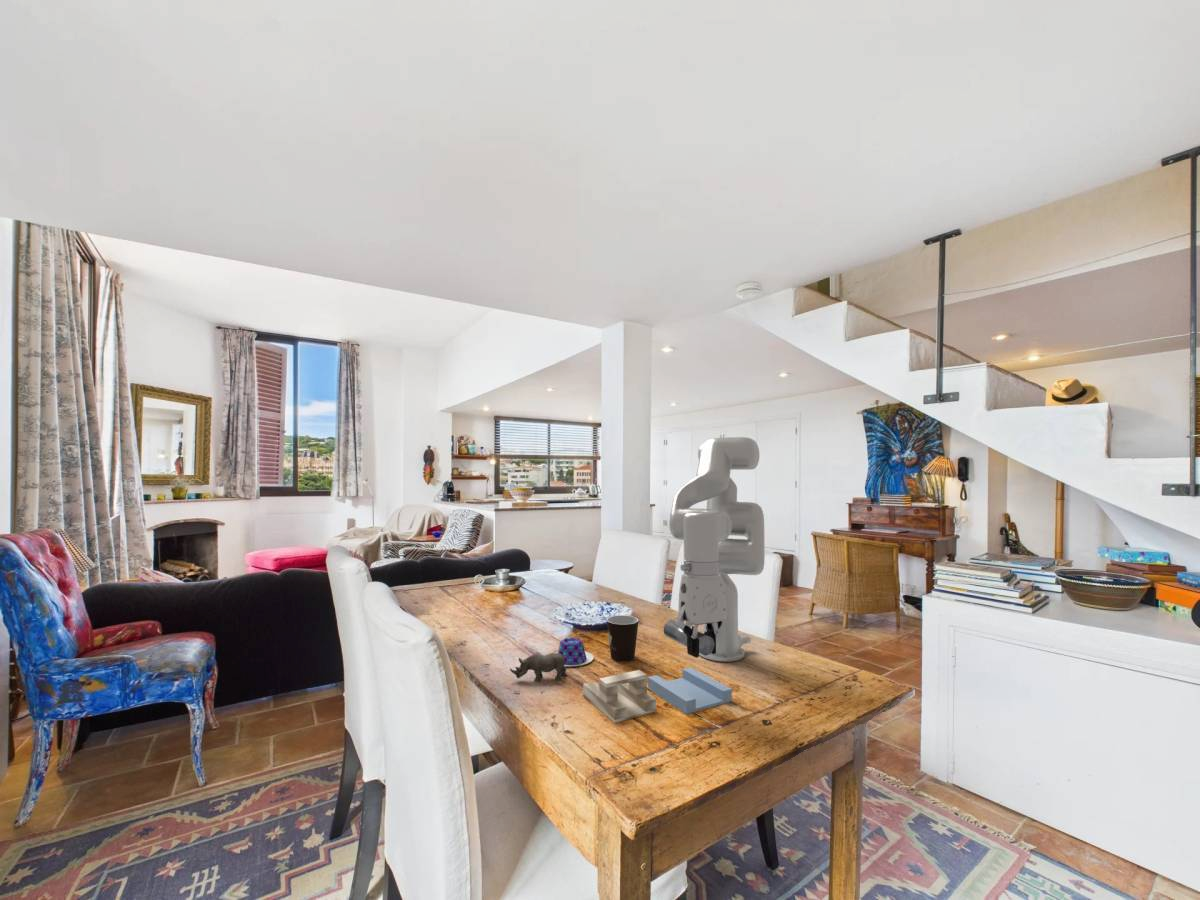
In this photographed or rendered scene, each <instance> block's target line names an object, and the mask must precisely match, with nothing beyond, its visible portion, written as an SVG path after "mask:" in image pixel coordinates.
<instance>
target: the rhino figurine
mask: <svg viewBox="0 0 1200 900" xmlns="http://www.w3.org/2000/svg"><path fill="white" fill-rule="evenodd" d="M518 662H519V663H520V666H519V667H518V666H515V669H516V670H514V669H512V668H509V671H510V673H512V674H514V675H515V676H516V678H517V679H520V678H521V677H524V676H525V675H526V674H527V673H528V671H529V670H530V671H531V670H532V671H534V674H535V678H534V680H533V682H534V683H535V682H536V683H538V682H540V681H541V678H543V676H544V675H543V673H550V672H552V671H554V670H555V671H556V676H555V677H554V681H561V680H562V677H567V673H566V671H567V667H566V666H564V665H565V658H564V656H563V655H562V654H560V653H556V652H552V653H548V654H546V655H545V654H544V655H542V654H538V653H534V654H530V655H529V656H528V657H526V658H525V659H522V658H520V657H518Z"/></svg>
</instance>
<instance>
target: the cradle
mask: <svg viewBox="0 0 1200 900" xmlns="http://www.w3.org/2000/svg"><path fill="white" fill-rule="evenodd" d="M681 673H682V677H681V678H676V679H671V680H665V679H664V678H662V677H661V676H660V675H657V674H656V675H652V676H647V690H649V691H651V692H652V693H653V694H655V695H657V697H660V698H661V699H663V700H664V701H665V702H667V703H669V704H670V705H672V706H673V707H675V708H676V709H678V710H680V711H681V712H682V713H683V714H685V715H689V714H692V713H695V712H696V713H697V712H699V711H702V710H706V709H709V708H713V707H716V706H719V705H724V704H727V703H730V702H732V701H733V689H732V688H731V687H729V686H727V685H725V684H723V683H721V682H719V681H717V680H716V679H714V678H712V677H710V676H708V675H707V674H704V673H703V672H700V671H698V670H696V669H694V668H693V667H691V666H689V667H686V668H683V669H682V672H681Z"/></svg>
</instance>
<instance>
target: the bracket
mask: <svg viewBox="0 0 1200 900" xmlns="http://www.w3.org/2000/svg"><path fill="white" fill-rule="evenodd" d="M647 690H648V674H647V673H645V672H644V671H642V670H640V669H637V670H633V671H627V672H623V673H619V674H614V675H611V676H605V677H601V678H599V680H598V684H597V683H596V682H595V681H591V682H586V683H583V684H582V696H583V697H584V698H585V699H587V700H588V702H590V703H591V704H593V706H595V707H596V708H597V709H598V710H599V711H601V713H603V714H604V715H605V716H606V717H608V718H609V720H611V721H612V722H613V723H619V722H622V721H626V720H630V719H633V718H636V717H640V716H644V715H648V714H651V713H655V712H657V698H656V697H654V696H652V695H651V694H650V693H648V691H647Z"/></svg>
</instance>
